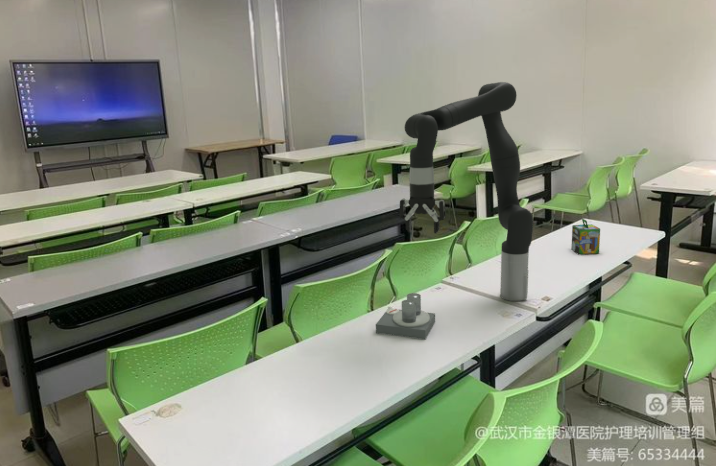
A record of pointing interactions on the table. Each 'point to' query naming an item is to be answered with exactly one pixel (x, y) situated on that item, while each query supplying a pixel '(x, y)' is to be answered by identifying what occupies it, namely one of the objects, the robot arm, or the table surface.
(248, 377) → the table surface
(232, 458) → the table surface
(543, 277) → the table surface
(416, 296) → the cylinder
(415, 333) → the scale
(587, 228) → the colorful box with handle
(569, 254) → the table surface
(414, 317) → the cylinder
